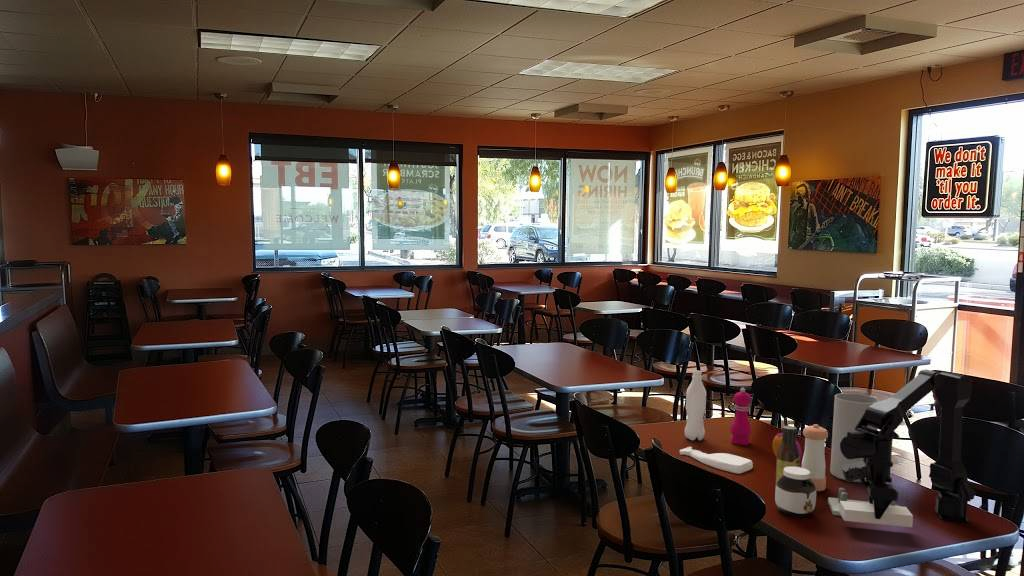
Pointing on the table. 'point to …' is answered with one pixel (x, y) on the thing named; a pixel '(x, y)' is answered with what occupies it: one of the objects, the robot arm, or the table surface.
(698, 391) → the water bottle
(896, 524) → the shelf board
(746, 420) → the pepper mill
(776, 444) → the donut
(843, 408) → the cylinder vase
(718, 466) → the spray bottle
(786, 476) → the spread jar
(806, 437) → the pepper shaker
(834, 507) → the peg stand
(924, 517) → the table surface
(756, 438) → the table surface
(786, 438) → the sauce bottle
